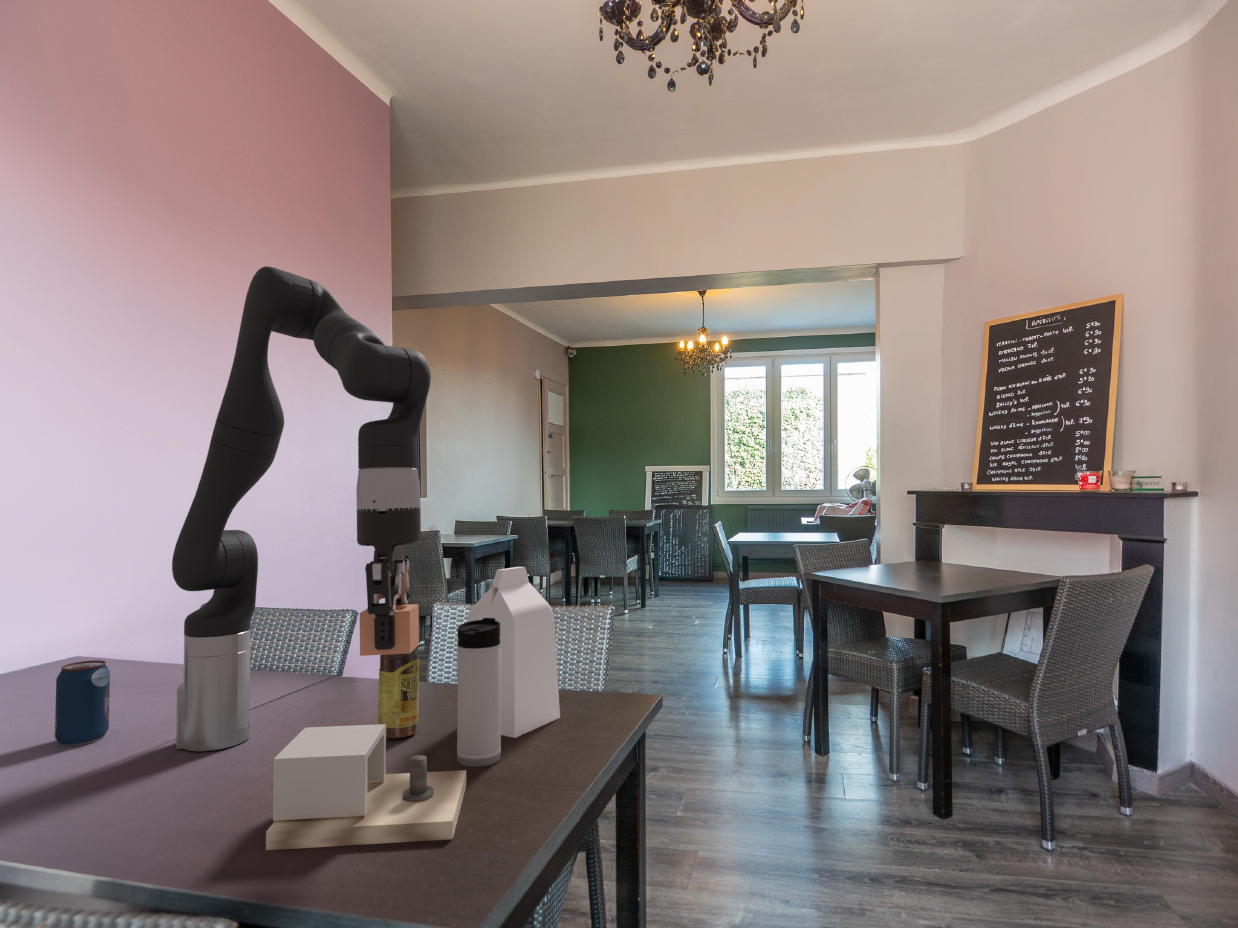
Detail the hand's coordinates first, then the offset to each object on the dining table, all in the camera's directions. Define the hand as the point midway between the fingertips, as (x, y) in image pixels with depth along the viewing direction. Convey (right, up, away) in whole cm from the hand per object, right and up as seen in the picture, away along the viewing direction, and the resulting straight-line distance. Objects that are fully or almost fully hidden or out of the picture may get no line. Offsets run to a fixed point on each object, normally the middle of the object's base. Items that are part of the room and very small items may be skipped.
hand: (390, 643), depth 88 cm
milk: (+10, -22, +34) cm, 42 cm away
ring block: (0, -1, 0) cm, 1 cm away
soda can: (-58, -22, +27) cm, 68 cm away
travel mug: (+8, -21, +17) cm, 28 cm away
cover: (-6, -18, -1) cm, 19 cm away
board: (-1, -21, -1) cm, 21 cm away
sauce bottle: (-8, -22, +28) cm, 37 cm away
